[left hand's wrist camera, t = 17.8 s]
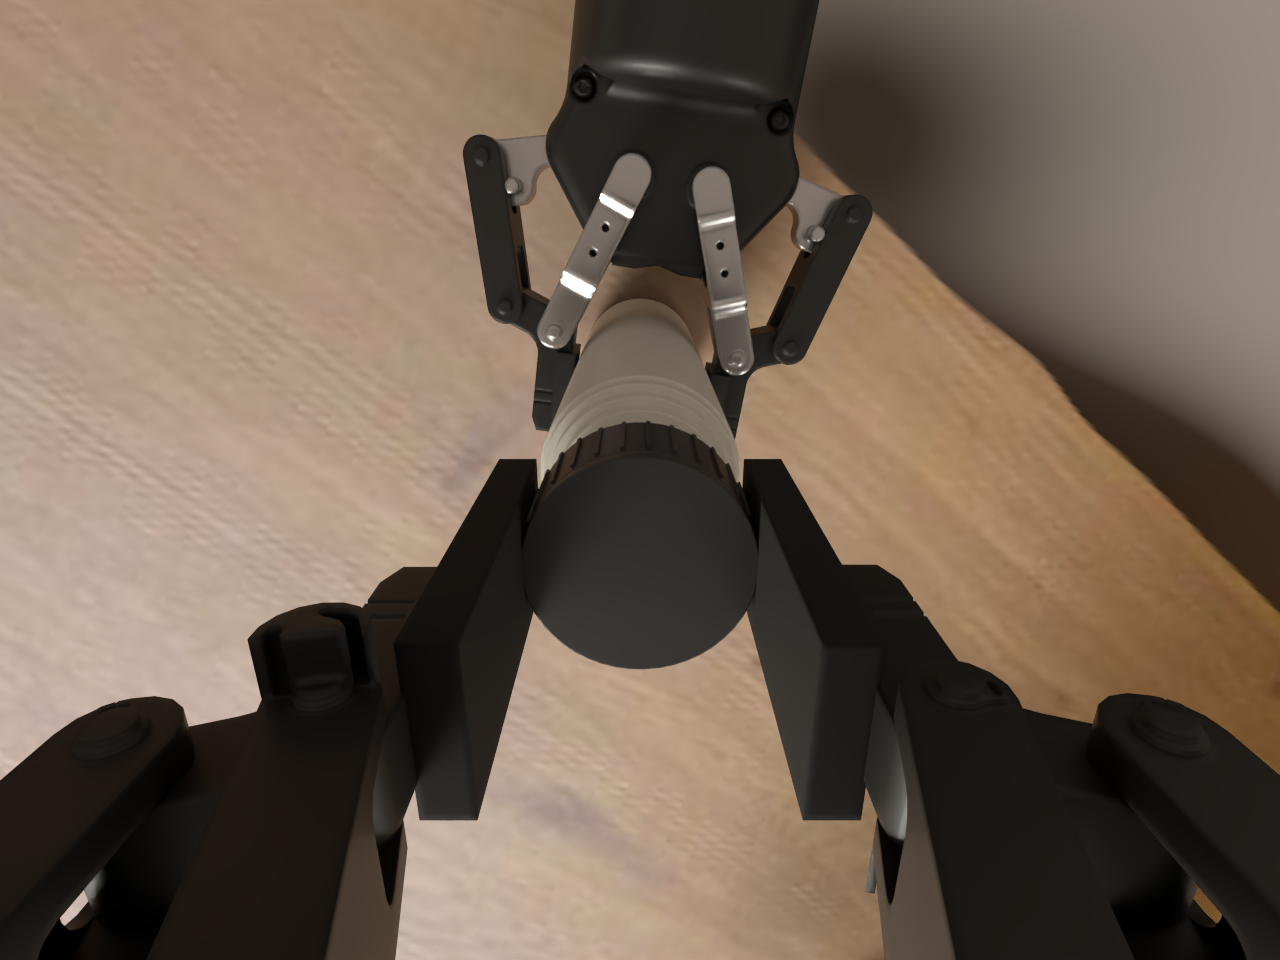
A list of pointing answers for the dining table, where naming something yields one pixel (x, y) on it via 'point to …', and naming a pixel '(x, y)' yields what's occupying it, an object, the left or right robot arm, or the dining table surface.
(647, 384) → the bottle
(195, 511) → the dining table surface
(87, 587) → the dining table surface
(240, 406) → the dining table surface
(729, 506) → the cap
